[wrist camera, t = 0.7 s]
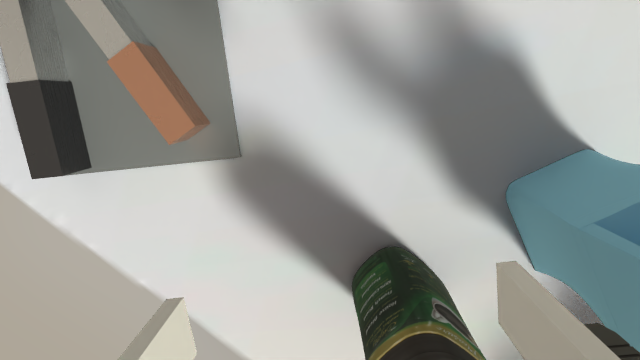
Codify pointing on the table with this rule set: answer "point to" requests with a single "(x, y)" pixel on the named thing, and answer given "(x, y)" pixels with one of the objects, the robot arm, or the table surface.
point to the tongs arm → (141, 69)
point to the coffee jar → (408, 311)
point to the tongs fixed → (41, 89)
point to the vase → (586, 232)
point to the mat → (122, 109)
